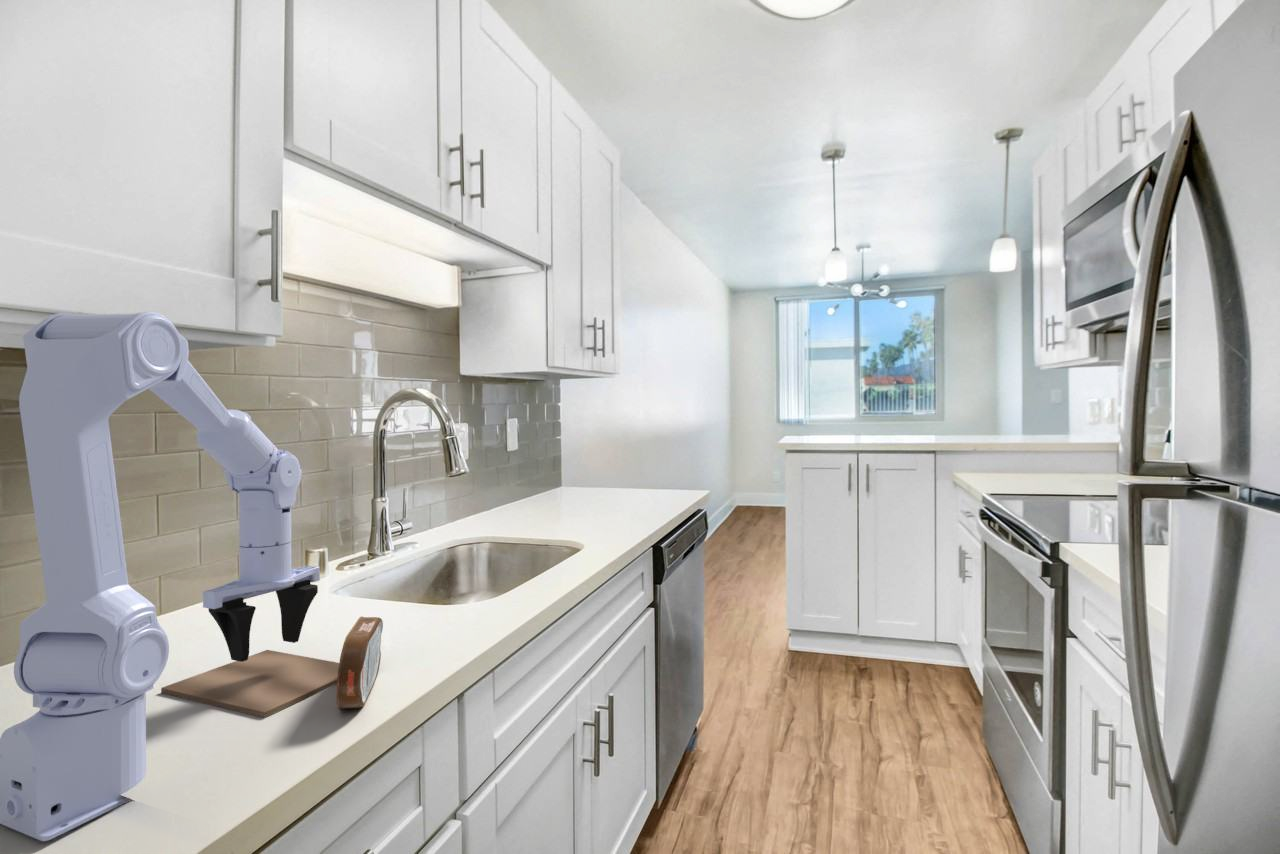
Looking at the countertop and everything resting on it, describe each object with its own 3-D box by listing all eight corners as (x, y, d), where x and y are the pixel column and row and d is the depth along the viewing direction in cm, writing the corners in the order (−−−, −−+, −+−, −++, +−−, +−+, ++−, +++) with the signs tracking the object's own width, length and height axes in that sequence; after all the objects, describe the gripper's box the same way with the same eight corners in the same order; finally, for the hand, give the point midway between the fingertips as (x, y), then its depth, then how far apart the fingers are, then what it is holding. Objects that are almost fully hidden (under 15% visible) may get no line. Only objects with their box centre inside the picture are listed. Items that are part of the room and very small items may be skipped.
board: (265, 717, 70) (265, 712, 70) (161, 692, 76) (161, 687, 76) (363, 671, 83) (363, 667, 83) (267, 653, 89) (267, 649, 89)
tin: (360, 671, 83) (360, 608, 83) (385, 669, 84) (385, 606, 84) (333, 723, 68) (333, 646, 68) (364, 720, 69) (364, 644, 69)
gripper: (231, 556, 71) (232, 675, 71) (336, 536, 85) (336, 636, 85) (190, 552, 74) (191, 667, 74) (298, 532, 87) (298, 629, 87)
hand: (266, 650), depth 79 cm, fingers open, 6 cm apart
